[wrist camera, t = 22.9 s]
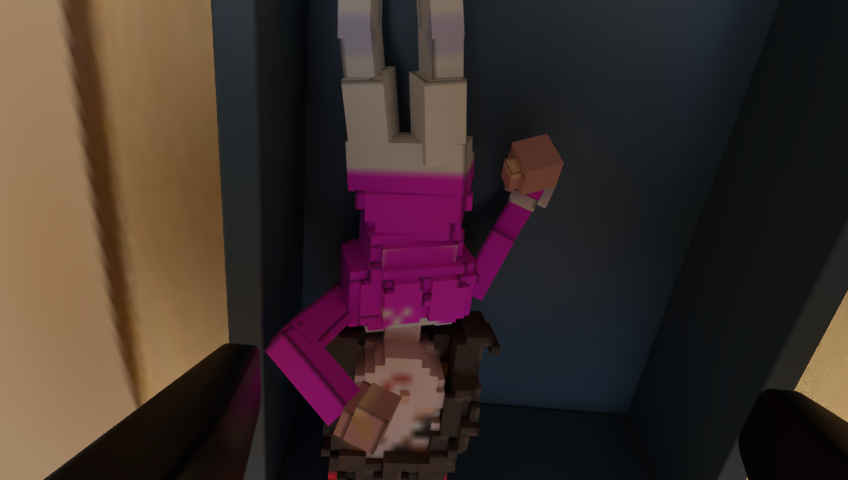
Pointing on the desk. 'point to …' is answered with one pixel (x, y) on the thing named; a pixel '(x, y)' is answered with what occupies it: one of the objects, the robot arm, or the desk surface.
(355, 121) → the character figurine
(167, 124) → the desk surface
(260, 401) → the robot arm
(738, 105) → the bin
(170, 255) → the desk surface
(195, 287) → the desk surface
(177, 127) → the desk surface
